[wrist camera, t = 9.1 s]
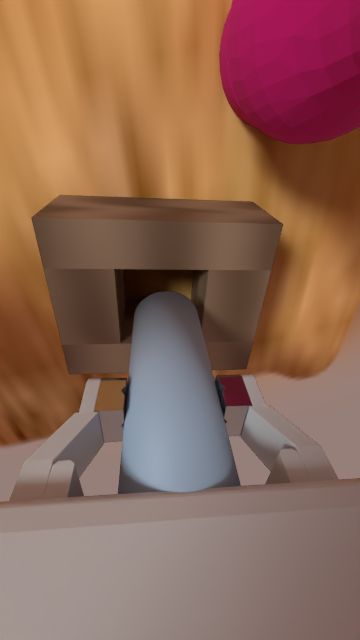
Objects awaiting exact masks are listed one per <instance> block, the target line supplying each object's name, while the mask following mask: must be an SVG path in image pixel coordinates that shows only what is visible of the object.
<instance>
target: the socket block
mask: <svg viewBox="0 0 360 640" xmlns="http://www.w3.org/2000/svg"><path fill="white" fill-rule="evenodd" d="M32 222H33V226H34V231H35V235H36V239H37V243H38V247H39V251H40V256H41V260H42V264H43V268H44V272H45V276H46V281H47V285H48V289H49V293H50V297H51V301H52V306H53V310H54V314H55V318H56V322H57V326H58V331H59V335H60V339H61V343H62V347H63V351H64V356H65V360H66V364H67V368H68V372H69V374H97V373H129V366H130V355H131V344H132V333H133V322H134V314H135V310H136V308H137V306H138V305H139V303H140V302H126V296H125V281H124V269H166V270H193V280H192V292H191V301H192V302H193V304H194V305H195V307H196V309H197V313H198V317H199V321H200V325H201V329H202V333H203V337H204V341H205V345H206V349H207V353H208V357H209V361H210V365H211V369H212V370H235V369H246V368H247V364H248V361H249V357H250V353H251V349H252V345H253V341H254V337H255V333H256V329H257V325H258V321H259V317H260V313H261V309H262V305H263V302H264V298H265V294H266V290H267V286H268V282H269V278H270V274H271V270H272V266H273V262H274V258H275V254H276V250H277V246H278V242H279V239H280V235H281V231H282V227H283V224H282V223H281V222H279V221H278V220H277V219H275V218H274V217H273V216H271V215H270V214H269V213H267V212H266V211H264V210H263V209H262V208H260V207H259V206H258V205H256V204H255V203H254V202H243V201H214V200H185V199H157V198H128V197H100V196H71V195H59V196H58V197H57V198H55V199H54V200H53V201H52V202H50V203H49V204H48V205H47V206H45V207H44V208H43V209H42V210H40V211H39V212H38V213H37V214H35V215H34V216H33V217H32Z"/></svg>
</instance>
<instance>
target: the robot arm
mask: <svg viewBox="0 0 360 640" xmlns="http://www.w3.org/2000/svg"><path fill="white" fill-rule="evenodd" d="M215 385H216V389H217V393H218V397H219V401H220V405H221V409H222V413H223V417H224V421H225V425H226V429H227V433H228V436H241V438H242V439H243V440H244V442H245V443H246V444H247V445H248V446H249V447H250V448H251V450H252V451H253V452H254V453H255V454H256V455H257V456H258V458H260V460H261V461H262V462H263V463H264V465H265V466H266V467H267V468H268V469H269V470H270V471H271V473H270V475H269V477H268V480H267V482H266V484H265V485H251V486H234V487H219V488H209V489H204V490H199V491H193V492H161V491H159V492H143V493H128V494H113V495H99V496H84V494H83V491H82V488H81V484H80V481H79V478H80V476H81V475H82V473H83V472H84V471H85V469H86V468H87V466H88V465H89V464H90V462H91V461H92V459H93V458H94V457H95V455H96V454H97V453H98V451H99V450H100V448H101V447H102V446H103V444H104V442H115V441H123V432H124V421H125V411H126V399H127V389H128V381H127V378H89V379H88V380H87V382H86V386H85V390H84V394H83V398H82V402H81V406H80V410H79V413H74V414H73V415H72V416H71V417H70V418H69V419H68V420H67V421H66V422H65V423H64V424H63V425H62V426H61V427H59V428H58V429H57V430H56V431H55V432H54V433H53V434H52V435H51V436H50V437H49V438H48V439H47V440H46V441H45V442H44V443H43V444H42V445H41V446H40V447H39V448H38V449H37V450H36V451H35V452H34V453H32V455H30V456H29V457H28V458H27V459H26V460H25V461H24V464H23V466H22V469H21V471H20V474H19V477H18V479H17V482H16V484H15V487H14V490H13V492H12V495H11V497H10V500H9V501H7V502H6V501H5V502H0V640H360V478H357V479H343V480H339V479H338V477H337V475H336V474H335V472H334V470H333V468H332V466H331V464H330V462H329V461H328V458H327V457H326V455H325V453H324V451H323V449H322V447H321V446H320V445H319V444H318V443H316V442H315V441H314V440H313V439H311V438H310V437H309V436H308V435H306V434H305V433H304V432H303V431H301V430H300V429H299V428H297V427H296V426H295V425H294V424H292V423H291V422H290V421H289V420H288V419H286V418H285V417H284V416H283V415H281V414H280V413H279V412H278V411H276V410H275V409H274V408H273V407H271V406H267V405H266V403H265V401H264V398H263V396H262V394H261V391H260V389H259V387H258V384H257V382H256V379H255V377H254V376H253V375H252V374H246V375H217V376H216V378H215Z"/></svg>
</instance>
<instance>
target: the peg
mask: <svg viewBox="0 0 360 640" xmlns="http://www.w3.org/2000/svg"><path fill="white" fill-rule="evenodd" d="M234 486H241V485H240V481H239V477H238V474H237V469H236V465H235V461H234V457H233V453H232V449H231V445H230V441H229V437H228V433H227V429H226V425H225V421H224V417H223V413H222V409H221V405H220V401H219V397H218V393H217V389H216V385H215V381H214V377H213V373H212V369H211V365H210V361H209V357H208V353H207V349H206V345H205V341H204V337H203V333H202V329H201V325H200V321H199V317H198V313H197V309H196V307H195V305H194V304H193V302H192V301H191V300H190V299H189V298H187V297H186V296H184V295H182V294H180V293H177V292H172V291H162V292H157V293H154V294H151V295H149V296H148V297H146V298H145V299H143V300H142V301H141V302H140V303H139V305H138V306H137V308H136V310H135V314H134V322H133V333H132V344H131V355H130V366H129V377H128V389H127V399H126V411H125V421H124V432H123V444H122V455H121V465H120V476H119V487H118V494H128V493H143V492H159V491H161V492H193V491H199V490H204V489H209V488H219V487H234Z"/></svg>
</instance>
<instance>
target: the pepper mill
mask: <svg viewBox="0 0 360 640" xmlns="http://www.w3.org/2000/svg"><path fill="white" fill-rule="evenodd" d="M219 57H220V74H221V80H222V85H223V89H224V92H225V95H226V97H227V99H228V102H229V103H230V105H231V106H232V108H233V109H234V111H235V112H236V114H237V115H238V116H239V117H240V118H241V119H242V120H244V121H245V122H247V123H248V124H250V125H252V126H254V127H257V128H258V129H259V130H260V131H261V132H263V133H265V134H266V135H268V136H270V137H271V138H273V139H276V140H278V141H281V142H284V143H291V144H306V143H316V142H321V141H327V140H331V139H334V138H336V137H338V136H341V135H343V134H346V133H348V132H350V131H352V130H354V129H356V128H358V127H359V126H360V0H233V1H232V6H231V9H230V12H229V14H228V17H227V19H226V22H225V25H224V29H223V34H222V38H221V45H220V54H219Z"/></svg>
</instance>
